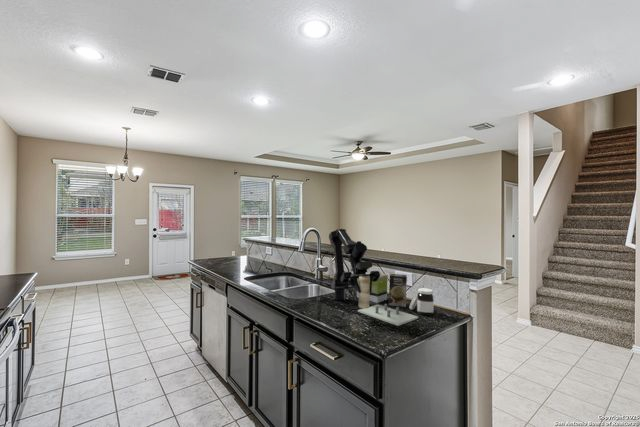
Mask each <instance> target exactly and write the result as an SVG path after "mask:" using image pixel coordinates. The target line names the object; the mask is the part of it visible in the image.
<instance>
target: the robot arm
mask: <svg viewBox="0 0 640 427" xmlns="http://www.w3.org/2000/svg"><path fill="white" fill-rule="evenodd" d="M328 239H329V243H330V245H331V246H332V247H333V256H334V266H335V273H334V274H333V279H332V280H331V281H332V282H331V288H332V290H334V297H333V301H342V302H344V301H345V300H346V298H347V297H346V296H345V294H346V293H345V291H346V289H347V290H348V289H349V286H352V288H354V289H355V290H356V292H357V291H358V292H359V293H361V291H360V287H359V284H358V282H357V279H359V276H369V277H370V293H371V290H372V282H376V281H377V280H378V279H379V277H380V274H381V273H380V271H379V270H371V271H370V272H371V273H370V274H366V272H367V271H368V270H369V269H370V268H372V267H373V262H372V260H367V261H362V259H363V258H364V255H366V252H367V250H368V247H367V245H366V244H364V243H362V241H360V240H358V241H354V240H352V239H351V237H350V236H349V234H348V233H347V230H346V229H345V228H337V229H335V230H334V231H330V232H329V234H328ZM342 245H343V248H342ZM343 253H344V254H345V255H346V256H348V255H349V256H348V263H350V267H351V269H350V271H345V268H344V267H345V266H344V260H343V259H344V258H343V257H344V256H343ZM345 302H346V301H345Z"/></svg>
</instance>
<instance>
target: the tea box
mask: <svg viewBox="0 0 640 427" xmlns="http://www.w3.org/2000/svg"><path fill="white" fill-rule="evenodd" d="M370 273H371V271H370V270H367V272H366V274H370ZM357 282H358V284H359V279H357ZM356 297H357V298H359V292H358V291H357V290H356ZM387 299H388V274H384V273H380V277H379V279H378V280H377V281H376V282H372V290H371V293H370V299H369V302H373V303H376V304H378V303H381V302H385V301H387ZM384 300H385V301H384Z"/></svg>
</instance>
